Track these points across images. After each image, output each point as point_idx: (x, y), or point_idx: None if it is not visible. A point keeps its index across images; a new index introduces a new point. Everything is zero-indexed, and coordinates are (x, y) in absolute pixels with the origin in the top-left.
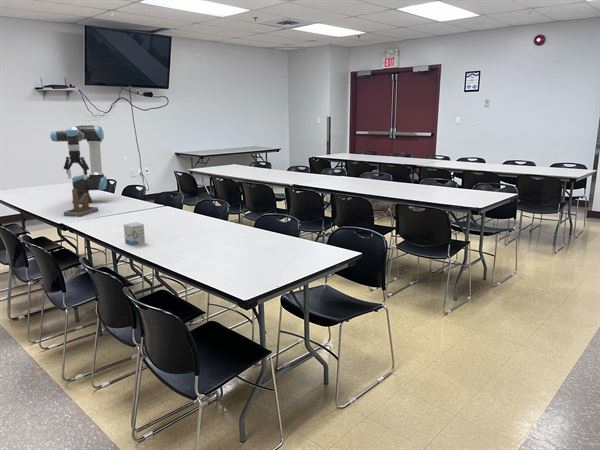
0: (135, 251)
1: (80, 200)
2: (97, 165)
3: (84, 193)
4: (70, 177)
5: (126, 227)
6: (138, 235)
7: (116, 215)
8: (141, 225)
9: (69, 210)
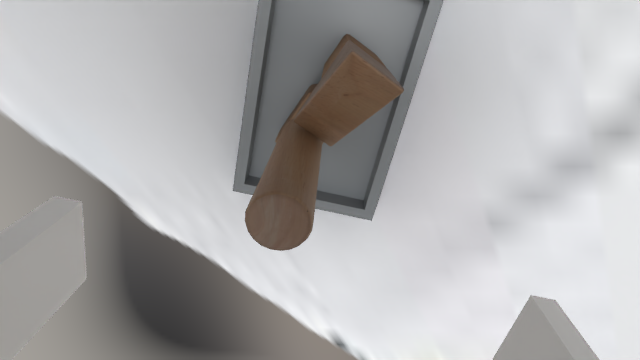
0: None
1: (328, 126)
2: None
3: (353, 67)
4: (67, 245)
5: None
6: None
7: (627, 166)
8: None
9: (248, 141)
